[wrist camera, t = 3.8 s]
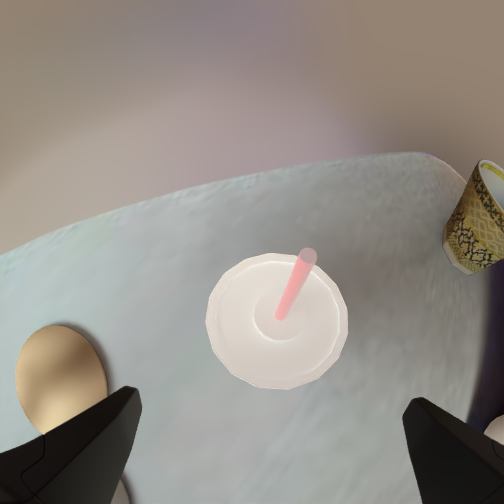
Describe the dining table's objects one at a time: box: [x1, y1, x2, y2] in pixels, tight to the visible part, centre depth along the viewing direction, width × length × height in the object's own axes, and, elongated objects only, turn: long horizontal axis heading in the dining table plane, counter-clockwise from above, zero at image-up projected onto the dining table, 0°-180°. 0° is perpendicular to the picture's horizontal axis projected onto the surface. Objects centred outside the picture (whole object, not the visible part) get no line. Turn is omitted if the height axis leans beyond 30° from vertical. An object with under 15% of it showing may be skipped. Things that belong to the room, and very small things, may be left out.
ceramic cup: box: [443, 159, 504, 275], centre depth 21 cm, size 13×10×10 cm
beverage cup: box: [205, 247, 348, 389], centre depth 13 cm, size 6×6×14 cm
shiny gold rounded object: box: [15, 325, 108, 434], centre depth 15 cm, size 10×10×1 cm
